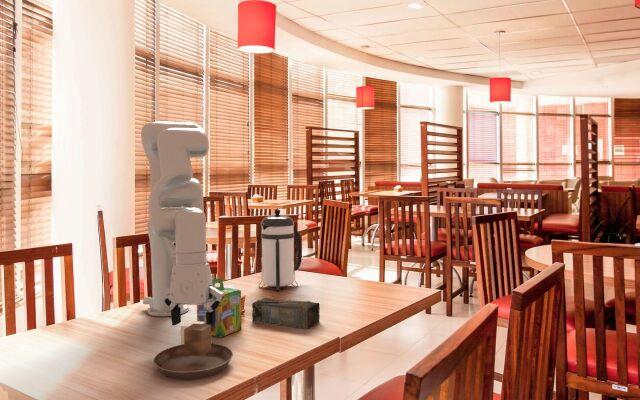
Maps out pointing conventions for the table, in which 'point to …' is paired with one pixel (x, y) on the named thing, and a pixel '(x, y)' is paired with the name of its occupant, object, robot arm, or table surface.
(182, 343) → the cream block
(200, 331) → the walnut block
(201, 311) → the chalk box
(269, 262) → the coffee press
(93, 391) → the table surface
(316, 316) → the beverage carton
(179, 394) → the table surface
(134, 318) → the table surface
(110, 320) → the table surface
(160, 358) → the plant saucer
